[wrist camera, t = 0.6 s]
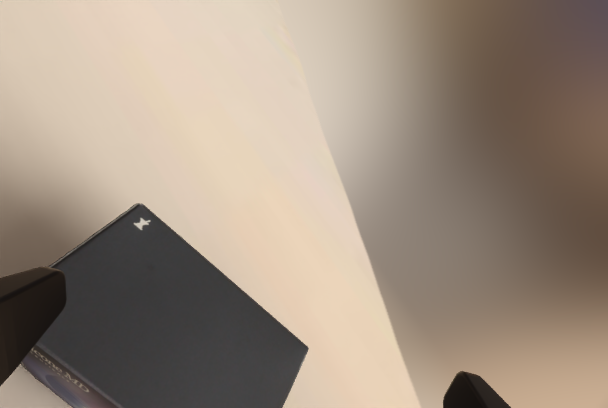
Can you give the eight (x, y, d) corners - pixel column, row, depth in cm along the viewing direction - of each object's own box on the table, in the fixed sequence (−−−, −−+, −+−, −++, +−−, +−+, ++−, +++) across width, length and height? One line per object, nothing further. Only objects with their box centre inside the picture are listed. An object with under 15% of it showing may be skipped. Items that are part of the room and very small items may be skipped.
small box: (3, 364, 17) (-29, 309, 10) (109, 274, 22) (140, 193, 14) (162, 483, 18) (240, 513, 11) (230, 372, 23) (315, 342, 15)
